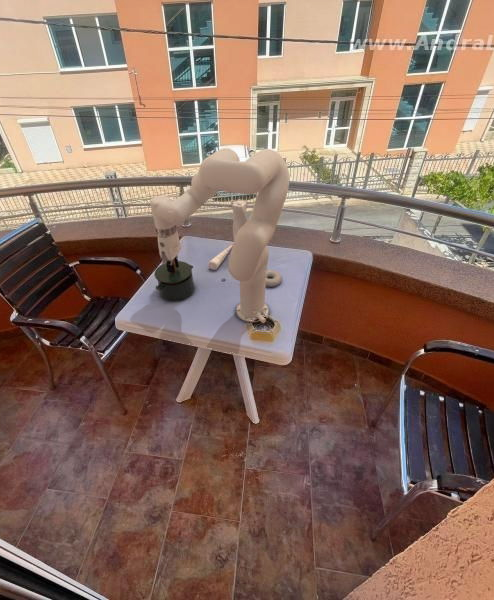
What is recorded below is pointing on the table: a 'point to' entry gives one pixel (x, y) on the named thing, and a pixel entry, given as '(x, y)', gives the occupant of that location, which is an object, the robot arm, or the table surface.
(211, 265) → the unicorn horn
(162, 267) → the pot lid
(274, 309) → the table surface
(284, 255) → the table surface
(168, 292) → the pot
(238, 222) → the grater
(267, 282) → the donut
